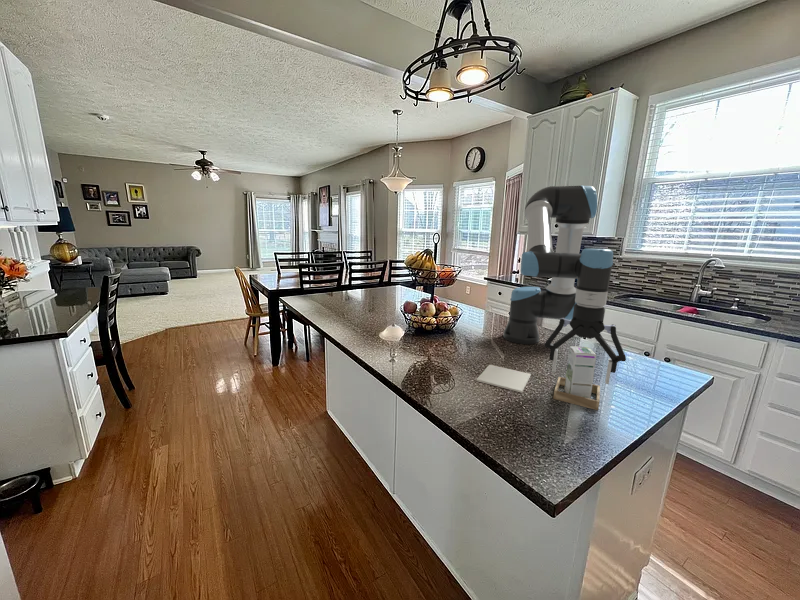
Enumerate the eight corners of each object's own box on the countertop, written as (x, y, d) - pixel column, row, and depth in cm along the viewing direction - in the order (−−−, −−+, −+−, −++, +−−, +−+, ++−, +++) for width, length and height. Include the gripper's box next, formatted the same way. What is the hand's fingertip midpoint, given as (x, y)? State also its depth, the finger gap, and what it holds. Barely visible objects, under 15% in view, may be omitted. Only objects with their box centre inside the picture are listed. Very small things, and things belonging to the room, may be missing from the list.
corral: (557, 383, 104) (558, 376, 103) (598, 393, 98) (599, 385, 97) (553, 398, 94) (554, 390, 94) (598, 410, 88) (599, 401, 88)
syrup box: (590, 402, 93) (598, 354, 90) (568, 399, 94) (575, 352, 91) (583, 392, 98) (590, 347, 95) (562, 390, 99) (569, 345, 96)
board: (489, 366, 116) (489, 364, 116) (530, 375, 109) (530, 374, 109) (476, 381, 104) (476, 379, 104) (521, 392, 97) (522, 391, 97)
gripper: (539, 301, 93) (531, 370, 98) (646, 314, 81) (632, 393, 85) (543, 297, 100) (535, 362, 104) (643, 308, 87) (630, 382, 91)
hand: (579, 376), depth 95 cm, fingers open, 13 cm apart
